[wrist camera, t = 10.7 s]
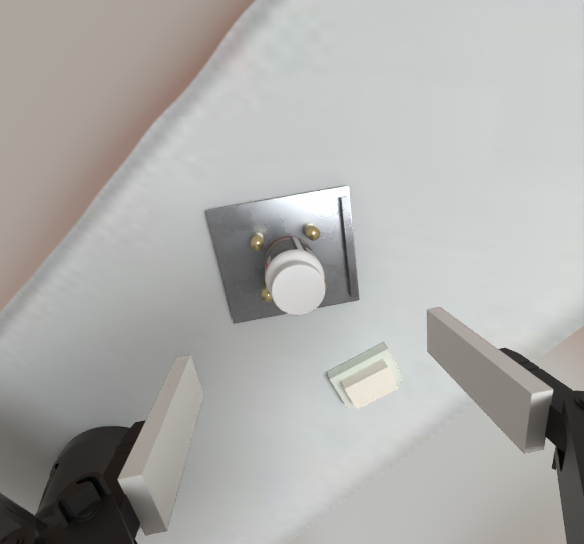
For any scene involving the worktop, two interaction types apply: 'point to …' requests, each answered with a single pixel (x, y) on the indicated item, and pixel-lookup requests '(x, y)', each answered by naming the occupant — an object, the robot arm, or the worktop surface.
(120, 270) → the worktop surface
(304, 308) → the pill bottle
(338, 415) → the worktop surface
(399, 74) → the worktop surface
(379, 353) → the soap dish
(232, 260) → the plate
